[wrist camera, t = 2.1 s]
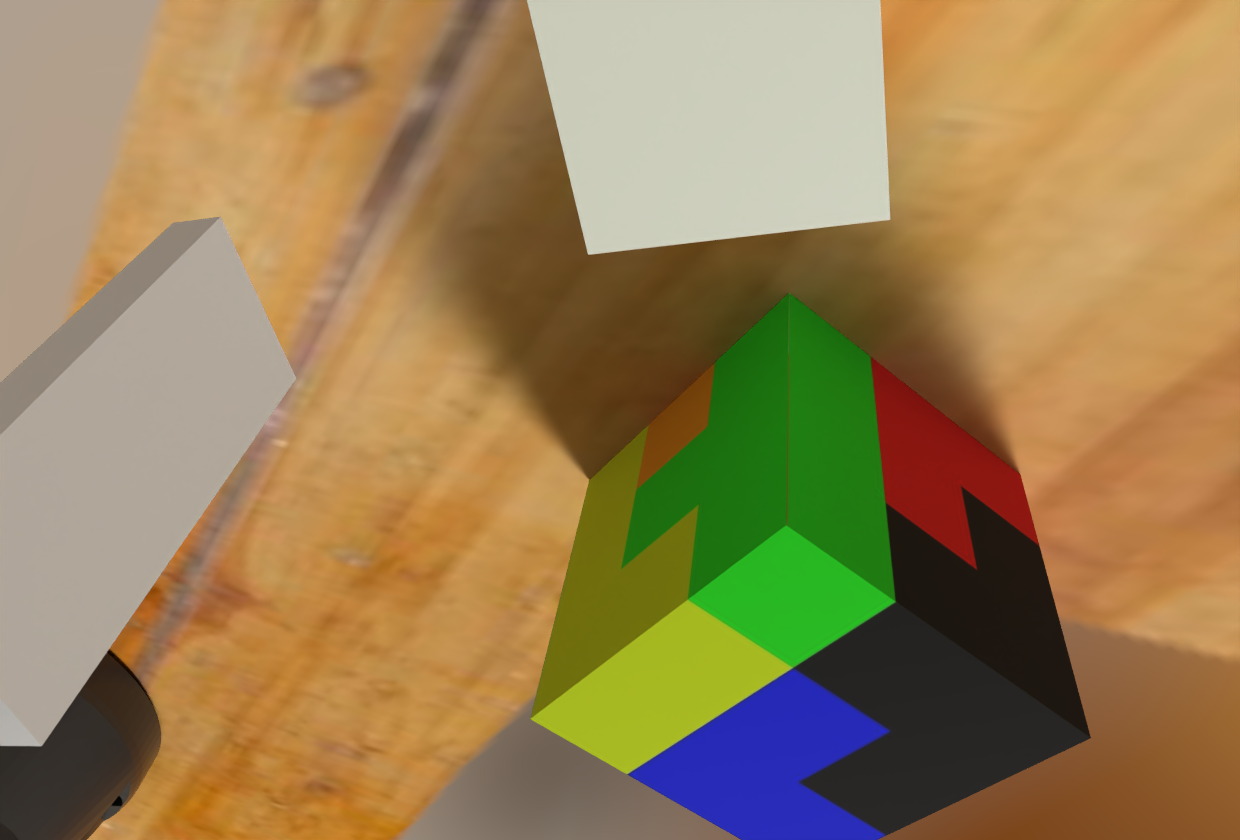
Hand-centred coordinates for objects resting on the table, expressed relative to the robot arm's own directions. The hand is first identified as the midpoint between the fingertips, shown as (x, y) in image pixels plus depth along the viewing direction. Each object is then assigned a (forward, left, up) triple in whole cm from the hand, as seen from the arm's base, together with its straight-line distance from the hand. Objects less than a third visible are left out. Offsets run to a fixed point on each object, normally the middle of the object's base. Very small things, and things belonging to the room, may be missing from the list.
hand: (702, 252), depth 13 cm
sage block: (0, 0, -15) cm, 15 cm away
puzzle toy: (0, -16, -15) cm, 22 cm away
